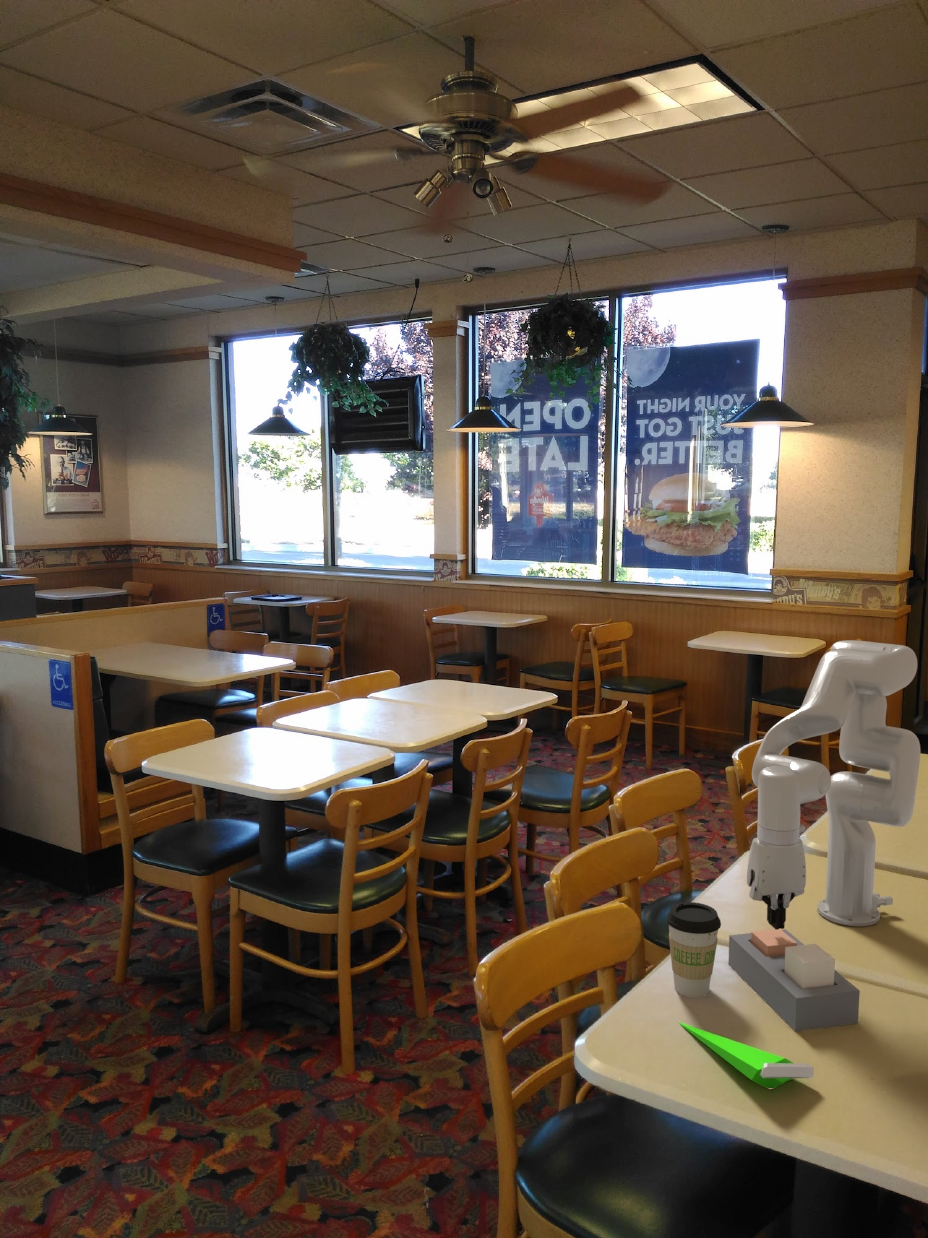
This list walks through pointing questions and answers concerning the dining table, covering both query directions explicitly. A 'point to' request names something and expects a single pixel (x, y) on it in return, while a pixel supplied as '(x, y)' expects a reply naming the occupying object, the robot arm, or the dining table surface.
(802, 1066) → the green triangular piece
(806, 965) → the cream key
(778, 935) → the terracotta key
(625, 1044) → the dining table surface
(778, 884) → the robot arm
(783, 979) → the key panel
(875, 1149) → the dining table surface
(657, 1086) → the dining table surface
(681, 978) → the coffee cup
